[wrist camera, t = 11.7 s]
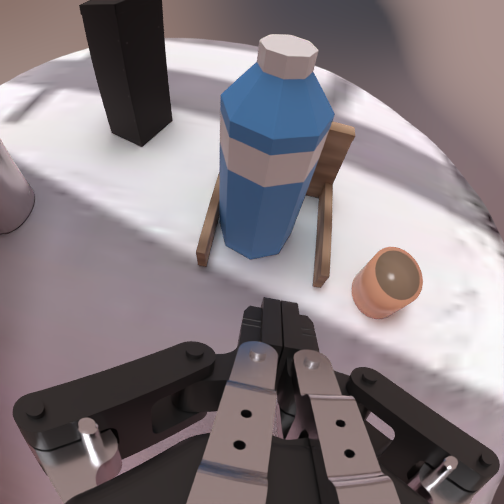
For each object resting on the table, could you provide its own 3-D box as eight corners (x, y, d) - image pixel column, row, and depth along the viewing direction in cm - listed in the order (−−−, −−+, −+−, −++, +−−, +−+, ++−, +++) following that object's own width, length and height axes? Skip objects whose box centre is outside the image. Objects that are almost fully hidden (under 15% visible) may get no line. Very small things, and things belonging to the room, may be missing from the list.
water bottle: (293, 204, 42) (346, 36, 20) (288, 265, 38) (362, 91, 16) (226, 193, 42) (234, 17, 20) (212, 253, 38) (206, 64, 16)
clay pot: (378, 330, 35) (402, 316, 30) (340, 290, 37) (359, 270, 32) (407, 294, 38) (431, 277, 32) (372, 258, 40) (393, 236, 34)
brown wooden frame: (320, 287, 37) (361, 235, 26) (198, 265, 37) (188, 202, 26) (325, 192, 44) (354, 127, 32) (223, 172, 44) (226, 101, 32)
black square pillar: (173, 120, 48) (161, -35, 23) (142, 147, 45) (112, -20, 20) (141, 108, 50) (122, -32, 25) (111, 133, 46) (75, -15, 21)
